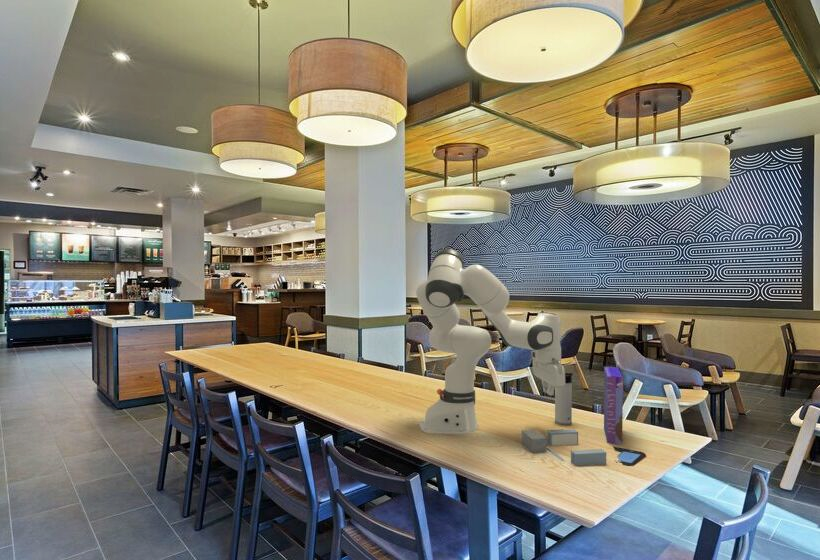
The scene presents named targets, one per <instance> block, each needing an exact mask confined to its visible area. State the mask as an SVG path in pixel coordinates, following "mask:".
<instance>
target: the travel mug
mask: <svg viewBox="0 0 820 560" xmlns="http://www.w3.org/2000/svg"><path fill="white" fill-rule="evenodd" d="M573 376H574V374H573V372H565V386H564V387H558V388H557V387H555V389H554V424H556V425H560V426H564V425H568V426H571V425H572V423H573V422H572V421H573V417H572V416H573V411H572V409H573V406H572V405H573V402H572V401H573V395H572V394H573V392H572V391H573V389H572V387H573V381H572V380H573V378H572V377H573Z"/></svg>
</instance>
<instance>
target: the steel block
mask: <svg viewBox="0 0 820 560" xmlns="http://www.w3.org/2000/svg"><path fill="white" fill-rule="evenodd" d="M547 445H548V443H547V436H545V435H543V434H542V433H540V432H539V431H538V430H537V429H526V430H525V429H524V430H521V446H523V447H525V449H527V450H528V451H529V452H531V453H532V454H536V453H537V454H538V453H547V450H548V449H547V448H548V447H547Z"/></svg>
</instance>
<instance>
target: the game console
mask: <svg viewBox="0 0 820 560" xmlns="http://www.w3.org/2000/svg"><path fill="white" fill-rule="evenodd" d="M612 447H613V450H614V451H615V452H618V453H619V454H617V456H616V458H617V459H618V460H617V461H615V463H617V464H618V463H619V464H622V466H625V467H634V466H636V465H637V464H638V463H640V462H641V461H642V460H644V459H645V458H646V457H647V454H646V453H645V452H643V451H639V450H634V449H629V448H624V447H618V446H613V445H612Z"/></svg>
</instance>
